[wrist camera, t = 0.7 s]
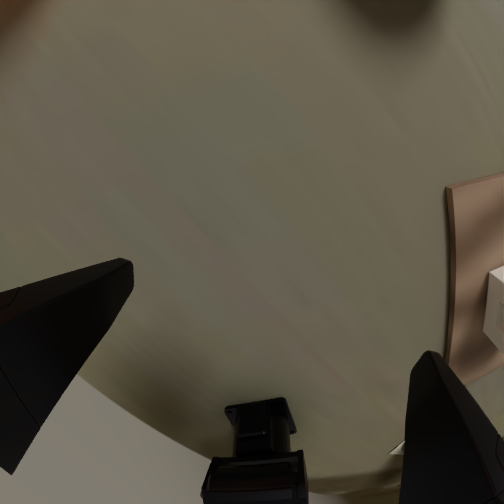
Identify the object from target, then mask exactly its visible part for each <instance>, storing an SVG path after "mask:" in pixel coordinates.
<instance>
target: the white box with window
mask: <svg viewBox="0 0 504 504" xmlns="http://www.w3.org/2000/svg"><path fill="white" fill-rule="evenodd" d="M483 332H484V333H485V334H486V335H487V336H488V337H489V339H490V340H491V341H492V342H493V343H494V344H495V345H496V347H497V348H498V349H499V350H500V351H501V352H502V354H503V355H504V266H502V267H500V268H497V269H495V270H493V271H490V272H489V284H488V294H487V303H486V311H485V319H484V325H483Z"/></svg>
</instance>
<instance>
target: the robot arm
mask: <svg viewBox="0 0 504 504" xmlns="http://www.w3.org/2000/svg"><path fill="white" fill-rule="evenodd" d="M133 287H134V272H133V263H132V262H131V261H129V260H126V259H123V258H117V259H114V260H110V261H106V262H103V263H99V264H96V265H92V266H89V267H85V268H82V269H78V270H75V271H71V272H68V273H64V274H61V275H57V276H54V277H51V278H47V279H44V280H41V281H37V282H34V283H31V284H27V285H24V286H22V287H17V288H14V289H11V290H7V291H4V292H1V293H0V467H1V468H3V469H4V470H5V471H6V472H8V473H9V474H10V475H12V474H13V473H14V471H15V470H16V468H17V466H18V464H19V463H20V461H21V459H22V458H23V456H24V454H25V453H26V451H27V449H28V448H29V446H30V444H31V443H32V441H33V440H34V438H35V436H36V435H37V433H38V432H39V430H40V428H41V426H42V425H43V423H44V422H45V420H46V419H47V417H48V416H49V414H50V412H51V411H52V409H53V408H54V406H55V405H56V403H57V402H58V400H59V399H60V397H61V396H62V394H63V393H64V391H65V390H66V389H67V387H68V386H69V384H70V383H71V381H72V380H73V378H74V377H75V375H76V374H77V373H78V371H79V370H80V368H81V367H82V366H83V364H84V363H85V361H86V360H87V358H88V357H89V356H90V354H91V353H92V352H93V350H94V349H95V347H96V346H97V345H98V343H99V342H100V341H101V339H102V338H103V337H104V335H105V334H106V332H107V331H108V330H109V328H110V327H111V325H112V323H113V322H114V320H115V318H116V317H117V315H118V313H119V312H120V310H121V308H122V307H123V305H124V303H125V302H126V300H127V298H128V297H129V295H130V294H131V292H132V290H133ZM229 410H230V411H229ZM225 414H226V415H227V417H228V419H229V420H230V422H231V424H232V426H233V427H234V429H235V432H234V443H233V455H232V457H222V458H219V457H213V459H212V462H211V463H210V466H209V469H208V471H207V474H206V477H205V480H204V483H203V486H202V491H201V497H202V499H203V503H204V504H309V501H308V500H309V499H308V480H307V471H306V465H305V459H304V453H303V450H297V451H295V452H291V449H290V435H291V434H295V433H296V432H297V431H296V426H295V423H294V421H293V418H292V415H291V412H290V410H289V407H288V404H287V401H286V399H285V398H282V397H280V398H275V399H270V400H264V401H258V402H253V403H246V404H240V405H233V406H227V407H225ZM399 504H504V441H503V439H502V437H501V436H500V434H498V432H497V430H496V429H495V427H494V426H493V424H492V423H491V422H490V420H489V419H488V417H487V416H486V414H485V413H484V412H483V410H482V409H481V408H480V406H479V405H478V403H477V402H476V401H475V399H474V398H473V397H472V395H471V394H470V393H469V391H468V390H467V389H466V387H465V386H464V385H463V383H462V382H461V381H460V379H459V378H458V377H457V376H456V374H455V373H454V372H453V370H452V369H451V368H450V367H449V365H448V364H447V363H446V362H445V360H444V359H443V358H442V356H441V355H440V354H439V353H437V352H433V351H429V350H428V351H426V352H424V353H423V355H422V356H421V358H420V359H419V360H418V362H417V363H416V364H415V366H414V367H413V369H412V371H411V374H410V383H409V393H408V402H407V410H406V421H405V442H404V458H403V469H402V479H401V488H400V497H399Z"/></svg>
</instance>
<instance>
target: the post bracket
mask: <svg viewBox="0 0 504 504" xmlns="http://www.w3.org/2000/svg"><path fill="white" fill-rule="evenodd" d="M446 194H447V204H448V215H449V230H450V256H451V284H450V310H449V325H448V336H447V346H446V355H445V362H446V363H447V364H448V365H449V367H450V368H451V369H452V370H453V372H454V373H455V374H456V376H457V377H458V378H459V379H460V381H461V382H462V383H463V385H466V384H468V383H470V382H472V381H474V380H476V379H478V378H480V377H482V376H484V375H486V374H488V373H490V372H492V371H494V370H495V369H497V368H499V367H501V366H503V365H504V355H503V354H502V352H501V351H500V350H499V349H498V348H497V347H496V345H495V344H494V343H493V342H492V341H491V340H490V339H489V337H488V336H487V335H486V334H485V333H484V332H483V325H484V319H485V311H486V303H487V294H488V284H489V272H490V271H493V270H495V269H497V268H500V267H502V266H504V172H503V173H499V174H495V175H491V176H486V177H482V178H478V179H474V180H470V181H466V182H462V183H458V184H454V185H450V186H446Z"/></svg>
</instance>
